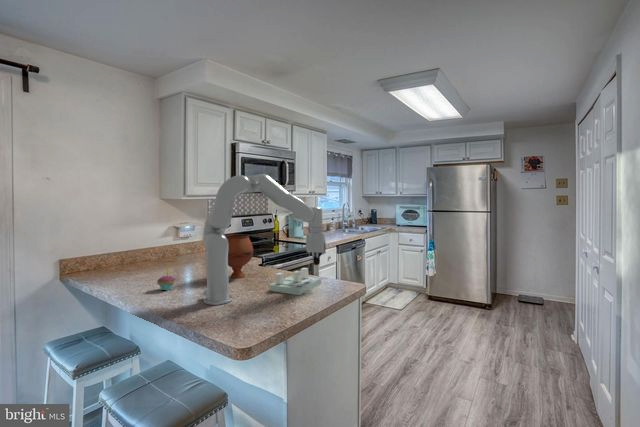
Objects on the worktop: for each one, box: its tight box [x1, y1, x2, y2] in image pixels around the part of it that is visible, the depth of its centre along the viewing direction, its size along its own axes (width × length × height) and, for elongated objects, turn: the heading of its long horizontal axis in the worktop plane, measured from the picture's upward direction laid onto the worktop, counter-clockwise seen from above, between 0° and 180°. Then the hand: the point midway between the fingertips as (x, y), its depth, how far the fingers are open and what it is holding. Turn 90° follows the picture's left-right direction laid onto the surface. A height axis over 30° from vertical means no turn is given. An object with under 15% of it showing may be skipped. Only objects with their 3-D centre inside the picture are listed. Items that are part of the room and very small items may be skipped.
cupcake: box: [156, 266, 176, 291], centre depth 170 cm, size 9×8×12 cm
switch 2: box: [292, 270, 301, 282], centre depth 171 cm, size 3×3×5 cm
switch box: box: [268, 274, 322, 296], centre depth 172 cm, size 18×22×3 cm
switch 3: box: [300, 267, 309, 279], centre depth 178 cm, size 3×3×5 cm
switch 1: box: [275, 272, 285, 284], centre depth 167 cm, size 3×3×5 cm
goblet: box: [225, 233, 254, 280], centre depth 194 cm, size 19×19×25 cm
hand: (316, 264), depth 174 cm, fingers closed
